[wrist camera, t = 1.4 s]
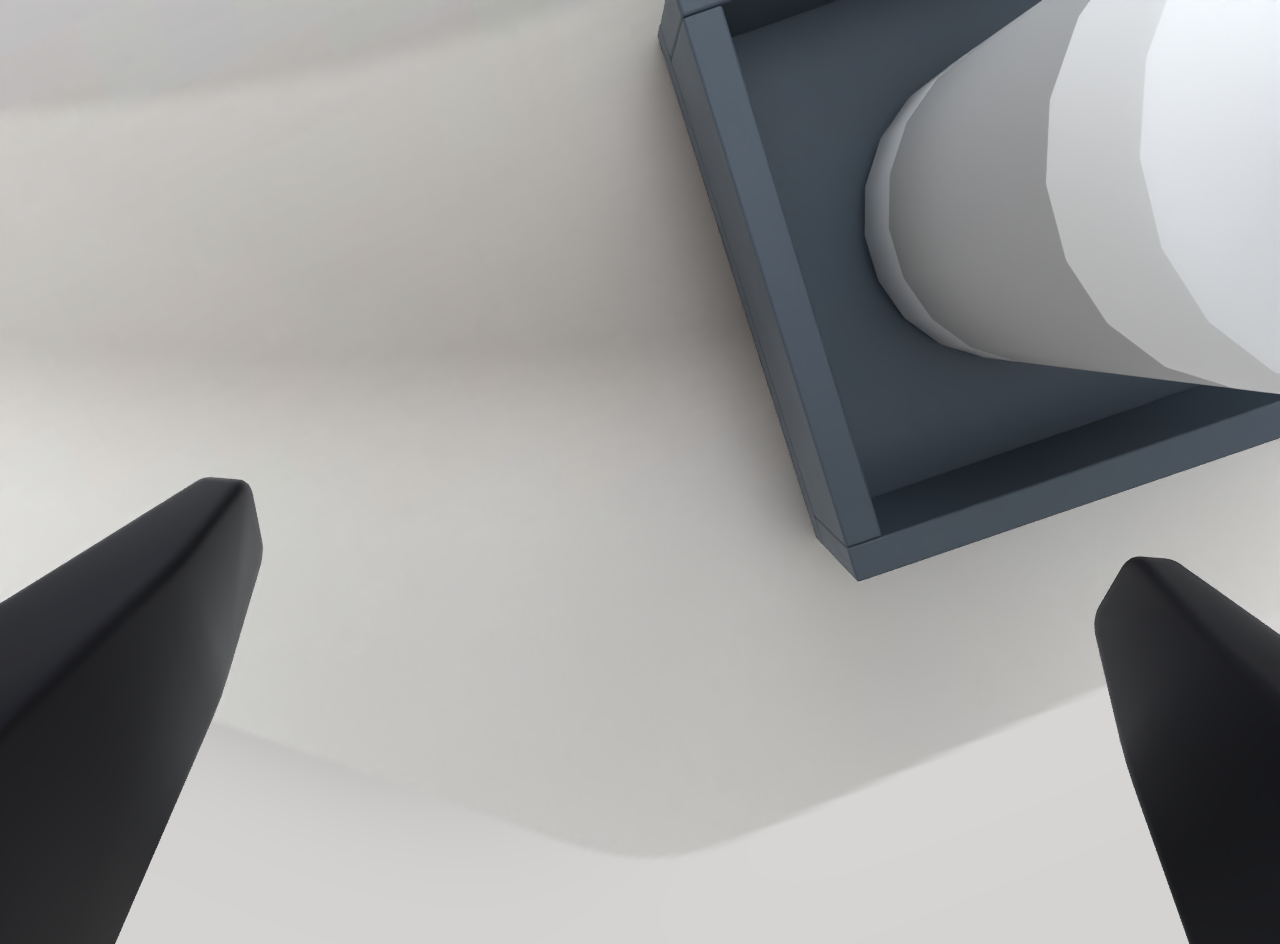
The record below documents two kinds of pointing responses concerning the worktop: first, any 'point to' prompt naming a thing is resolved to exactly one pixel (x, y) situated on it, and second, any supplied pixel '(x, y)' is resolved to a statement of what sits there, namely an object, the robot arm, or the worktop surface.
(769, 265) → the bin
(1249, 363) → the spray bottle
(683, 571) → the worktop surface
